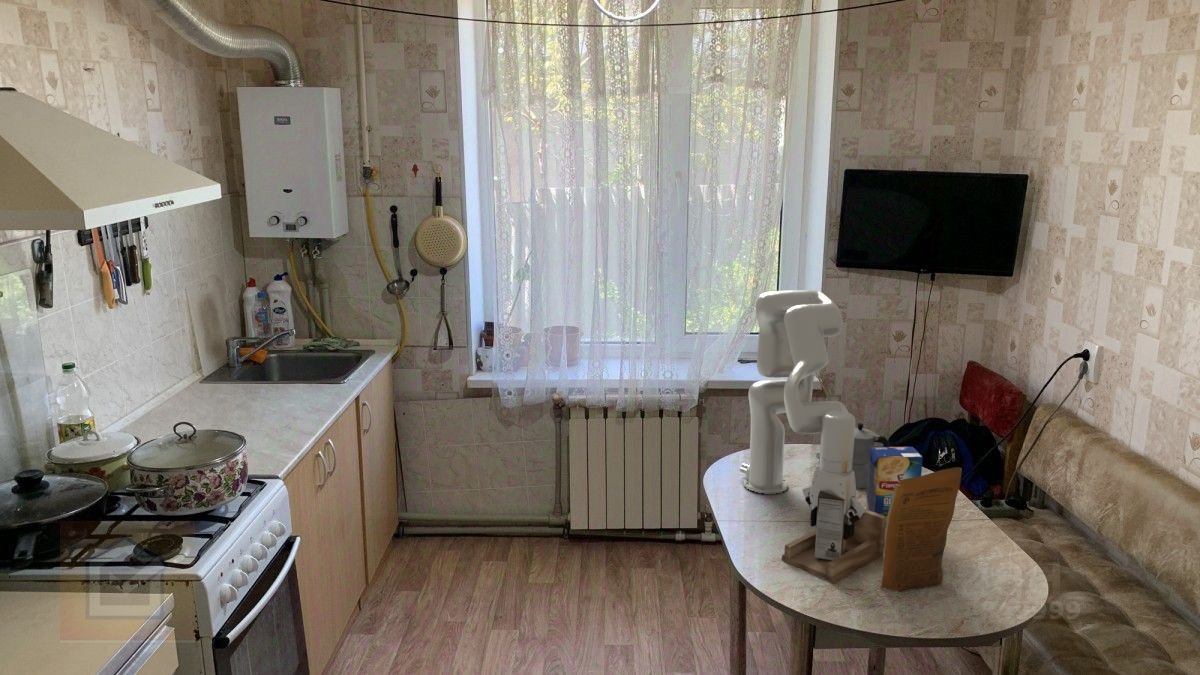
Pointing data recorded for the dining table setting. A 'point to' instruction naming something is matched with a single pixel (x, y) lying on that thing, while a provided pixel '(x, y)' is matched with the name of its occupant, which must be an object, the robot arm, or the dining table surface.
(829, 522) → the coffee box
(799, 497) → the dining table surface
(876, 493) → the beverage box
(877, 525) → the wooden tray
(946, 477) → the pancake mix bag
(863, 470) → the coffeepot
